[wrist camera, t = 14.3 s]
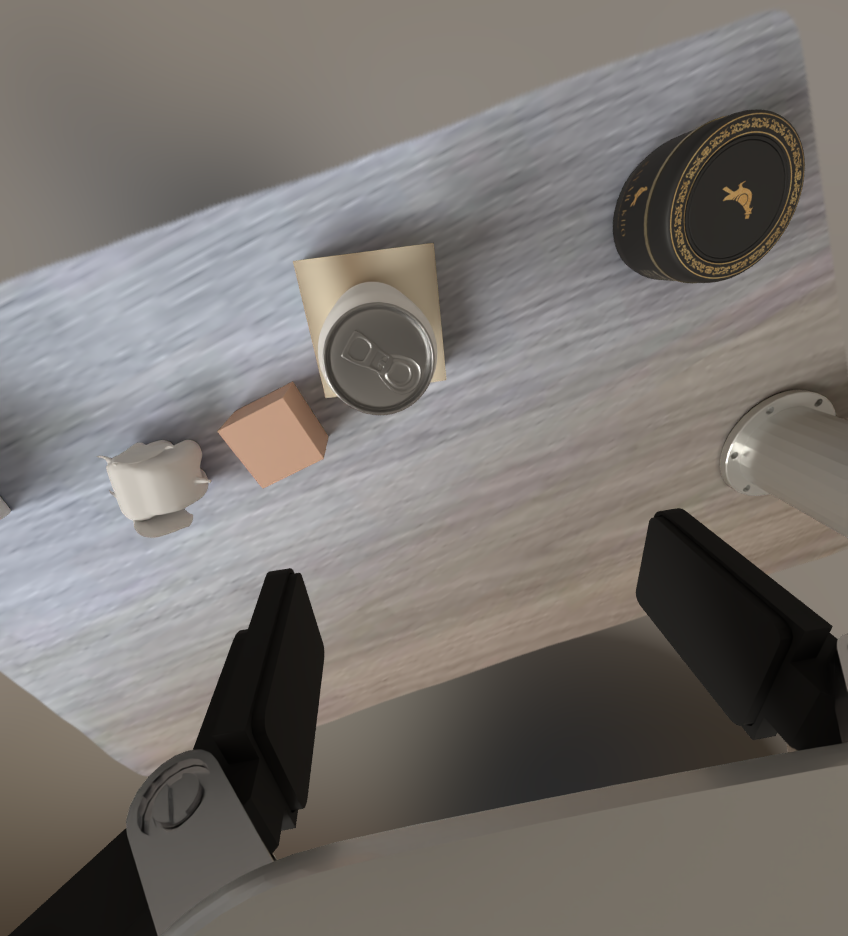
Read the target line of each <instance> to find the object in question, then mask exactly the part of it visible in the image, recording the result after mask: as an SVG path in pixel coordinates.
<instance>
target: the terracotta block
mask: <svg viewBox="0 0 848 936" xmlns="http://www.w3.org/2000/svg"><path fill="white" fill-rule="evenodd" d="M217 432H218V433H219V434H220V435H221V437H222V438H223V439H224V440H225V442H226V443H227V444H228V446H229V447H230V448H231V449H232V451H233V452H234V453H235V454H236V456H237V457H238V458H239V459H240V461H241V462H242V463H243V464H244V466H245V467H246V468H247V469H248V471H249V472H250V473H251V474H252V476H253V477H254V478H255V479H256V481H257V482H258V483H259V484H260V486H261V487H262V488H265V487H267V486H269V485H271V484H273V483H275V482H277V481H279V480H281V479H283V478H285V477H287V476H290V475H292V474H294V473H296V472H298V471H300V470H302V469H304V468H306V467H308V466H310V465H312V464H314V463H316V462H318V461H320V460H322V459H324V455H325V450H326V446H327V441H328V435H327V434H326V432H325V431H324V429H323V427H322V426H321V424H320V423H319V421H318V420H317V418H316V417H315V415H314V414H313V412H312V410H311V409H310V407H309V406H308V404H307V403H306V401H305V400H304V398H303V397H302V395H301V393H300V392H299V390H298V389H297V387H296V386H295V384H294V383H293V382H291V383H289V384H287V385H285V386H283V387H281V388H279V389H277V390H275V391H273V392H271V393H270V394H268V395H266V396H264V397H262V398H260V399H258V400H256V401H254V402H252V403H250V404H248V405H246V406H244V407H242V408H241V409H239V410H237V411H235V412H234V413H233V414H232V415H231V416H230V418H229V419H228V420H227V421H226V422H225V423H224V424H223V425H222V427H221V428H220V429H219V430H218V431H217Z"/></svg>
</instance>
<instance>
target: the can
mask: <svg viewBox="0 0 848 936" xmlns="http://www.w3.org/2000/svg"><path fill="white" fill-rule="evenodd" d="M318 359H319V364H320V368H321V371H322V374H323V376H324V378H325V380H326V382H327V384H328V385H329V387H330V388H331V389H332V391H333V392H334V393H335V394H336V395H337V396H338V397H339V398H340V399H341V400H342V401H343V402H344V403H346V404H347V405H348V406H350V407H352V408H354V409H355V410H358V411H360V412H363V413H367V414H372V415H388V414H393V413H397V412H400V411H402V410H404V409H406V408H408V407H410V406H411V405H412V404H414V403H415V402H416V401H417V400H418V399H419V398H420V397H421V396H422V395H423V394H424V392H425V391H426V389H427V388H428V386H429V384H430V382H431V380H432V378H433V375H434V372H435V369H436V364H437V343H436V338H435V335H434V332H433V329H432V327H431V325H430V323H429V321H428V319H427V318H426V316H425V315H424V314H423V312H422V311H421V310H420V309H419V308H418V307H417V306H416V305H415V304H414V303H413V302H412V301H411V300H410V299H408V298H407V297H406V296H405V295H404V294H402V293H401V292H400V291H399V290H397V289H396V288H394V287H392V286H390V285H387V284H385V283H380V282H364V283H360V284H358V285H355V286H353V287H352V288H350V289H348V290H347V291H346V292H345V293H344V294H343V295H342V296H341V297H340V298H339V300H338V301H337V302H336V304H335V305H334V307H333V308H332V310H331V311H330V313H329V314H328V316H327V318H326V320H325V322H324V324H323V326H322V329H321V332H320V335H319V341H318Z"/></svg>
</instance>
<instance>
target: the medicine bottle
mask: <svg viewBox="0 0 848 936" xmlns="http://www.w3.org/2000/svg"><path fill="white" fill-rule="evenodd" d="M10 512H11V510H10V508H9V507H8V506H7V504H6V503H5V502H4V501H3V499H2V498H1V497H0V520H1V519H3V518H4V517H6V516H7V515H8V514H10Z"/></svg>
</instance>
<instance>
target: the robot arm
mask: <svg viewBox="0 0 848 936" xmlns="http://www.w3.org/2000/svg"><path fill="white" fill-rule="evenodd" d="M720 471H721V475H722V477H723V480H724V481H725V482H726V483H727V485H728V486H730V487H731V488H733V489H734V490H736V491H737V492H739V493H741V494H744V495H749V496H762V495H768V494H771V495H773V496H775V497H777V498H778V499H780V500H782V501H784V502H785V503H787V504H789V505H791V506H792V507H794V508H796V509H798V510H799V511H801V512H803V513H804V514H806V515H808V516H810V517H811V518H813V519H815V520H817V521H818V522H820V523H822V524H824V525H825V526H827V527H829V528H831V529H832V530H834V531H836V532H838V533H839V534H841V535H843V536H845V537H846V538H848V420H846V419H843V418H840V417H837V416H836V413H835V409H834V407H833V405H832V403H831V402H830V401H829V400H828V399H827V398H826V397H825V396H823V395H820V394H818V393H815V392H811V391H807V390H791V391H785V392H782V393H779V394H776V395H774V396H772V397H770V398H768V399H766V400H764V401H762V402H761V403H760V404H758V405H757V406H755V407H754V408H752V409H751V410H750V411H749V412H748V413H747V414H746V415H744V416H743V417H742V419H741V420H740V421H739V422H738V423H737V424H736V425H735V427H734V428H733V430H732V431H731V433H730V434H729V436H728V438H727V440H726V442H725V444H724V446H723V450H722V453H721V458H720ZM636 597H637V600H638V602H639V604H640V606H641V607H642V608H643V610H644V611H645V612H646V613H647V615H648V616H649V617H650V618H651V620H652V621H653V622H654V624H655V625H656V626H657V627H658V629H659V630H660V631H661V632H662V634H663V635H664V636H665V638H666V639H667V640H668V641H669V642H670V644H671V645H672V646H673V648H674V649H675V650H676V651H677V653H678V654H679V655H680V657H681V658H682V659H683V660H684V662H685V663H686V664H687V665H688V667H689V668H690V669H691V670H692V672H693V673H694V674H695V676H696V677H697V678H698V679H699V680H700V682H701V683H702V684H703V686H704V687H705V688H706V689H707V691H708V692H709V693H710V695H711V696H712V697H713V698H714V699H715V701H716V702H717V703H718V705H719V706H720V707H721V708H722V710H723V711H724V712H725V714H726V715H727V716H728V717H729V718H730V720H731V721H732V722H734V723H735V724H736V725H739V726H742V727H743V729H744V730H745V731H746V732H747V734H748V735H749V736H750V737H751V739H752V740H756V739H761V738H767V737H772V736H776V734H777V732H778V734H780V736H781V737H782V738H783V739H784V740H785V742H786V743H787V752H788V753H782V754H777V755H771V756H766V757H761V758H756V759H750V760H745V761H740V762H734V763H730V764H724V765H719V766H714V767H708V768H703V769H697V770H692V771H687V772H681V773H676V774H671V775H666V776H660V777H656V778H650V779H645V780H640V781H635V782H629V783H624V784H620V785H614V786H609V787H604V788H599V789H594V790H589V791H583V792H578V793H573V794H568V795H563V796H558V797H552V798H547V799H542V800H538V801H532V802H528V803H522V804H517V805H512V806H507V807H502V808H497V809H492V810H487V811H482V812H477V813H472V814H467V815H463V816H457V817H453V818H447V819H442V820H437V821H432V822H427V823H422V824H417V825H413V826H408V827H403V828H399V829H394V830H390V831H386V832H381V833H376V834H372V835H367V836H363V837H358V838H354V839H349V840H345V841H340V842H336V843H332V844H328V845H325V846H321V847H317V848H314V849H310V850H307V851H303V852H300V853H296V854H292V855H290V856H287V857H285V858H282V859H279V860H277V859H276V858H275V856H274V854H273V852H274V851H275V849H276V848H277V847H278V845H279V840H280V834H281V831H282V830H288V829H293V828H296V821H297V813H298V809H303V808H305V806H306V803H307V797H308V789H309V780H310V772H311V764H312V755H313V747H314V739H315V731H316V722H317V714H318V706H319V697H320V689H321V681H322V672H323V664H324V645H323V641H322V638H321V635H320V632H319V629H318V626H317V622H316V619H315V616H314V613H313V610H312V606H311V603H310V600H309V597H308V594H307V590H306V587H305V584H304V581H303V578H302V575H301V573H295V574H294V571H293V570H292V569H291V568H289V569H283V570H276V571H270V572H268V573H267V575H266V577H265V580H264V583H263V586H262V589H261V592H260V595H259V598H258V601H257V604H256V607H255V610H254V613H253V616H252V619H251V622H250V625H249V627H248V629H246V630H240V631H239V632H238V633H237V634H236V635H235V637H234V640H233V642H232V645H231V648H230V650H229V653H228V656H227V658H226V661H225V664H224V667H223V669H222V672H221V675H220V677H219V680H218V683H217V686H216V688H215V691H214V694H213V697H212V699H211V702H210V705H209V707H208V710H207V713H206V716H205V718H204V721H203V724H202V726H201V729H200V732H199V735H198V737H197V740H196V743H195V745H194V748H193V750H188V751H186V752H183V753H181V754H178V755H175V756H174V757H172V758H171V759H169V760H168V761H166V762H165V763H163V764H161V765H160V766H159V767H158V768H157V769H156V770H155V771H154V772H153V773H152V774H151V775H150V776H149V777H148V778H147V779H146V781H145V782H144V783H143V785H142V786H141V787H140V788H139V790H138V791H137V793H136V795H135V797H134V799H133V801H132V803H131V805H130V808H129V812H128V816H127V819H126V829H125V830H124V831H122V832H121V833H120V834H119V835H118V836H117V837H116V838H115V839H114V840H113V841H111V842H110V843H109V844H108V845H107V846H106V847H105V848H104V849H103V850H102V851H100V852H99V853H98V854H97V855H96V856H95V857H94V858H93V859H92V860H91V861H90V862H89V863H87V864H86V865H85V866H84V867H83V868H82V869H81V870H80V871H79V872H77V873H76V874H75V875H74V876H73V877H72V878H71V879H70V880H69V881H68V882H67V883H65V884H64V885H63V886H62V887H61V888H60V889H59V890H58V891H57V892H56V893H55V894H53V895H52V896H51V897H50V898H49V899H48V900H47V901H46V902H45V903H44V904H42V905H41V906H40V907H39V908H38V909H37V910H36V911H35V912H34V913H33V914H32V915H30V917H28V918H27V919H26V920H25V921H24V922H23V923H22V924H21V925H20V926H18V927H17V928H16V929H15V930H14V931H13V932H12V933H11V934H10V935H8V936H848V634H845V635H842V636H841V637H840V638H839V639H837V638H835V637H834V636H833V635H832V634H831V633H830V631H831V629H832V625H830V624H829V623H828V622H826V621H825V620H824V619H823V618H821V617H820V616H819V615H818V614H816V613H815V612H814V611H813V610H811V609H810V608H809V607H807V606H806V605H805V604H804V603H802V602H801V601H800V600H798V599H797V598H796V597H795V596H793V595H792V594H791V593H789V592H788V591H787V590H786V589H784V588H783V587H782V586H781V585H779V584H778V583H777V582H776V581H774V580H773V579H772V578H770V577H769V576H768V575H767V574H765V573H764V572H763V571H761V570H760V569H759V568H758V567H756V566H755V565H754V564H753V563H751V562H750V561H749V560H747V559H746V558H745V557H744V556H742V555H741V554H740V553H739V552H737V551H736V550H735V549H733V548H732V547H731V546H730V545H728V544H727V543H726V542H725V541H723V540H722V539H721V538H719V537H718V536H717V535H716V534H714V533H713V532H712V531H710V530H709V529H708V528H707V527H705V526H704V525H703V524H702V523H700V522H699V521H698V520H696V519H695V518H694V517H693V516H691V515H690V514H689V513H688V512H686V511H685V510H683V509H680V508H677V509H671V510H664V511H659V512H657V513H656V514H655V515H654V518H651V519H650V521H649V525H648V530H647V536H646V541H645V546H644V551H643V556H642V562H641V567H640V572H639V577H638V583H637V588H636Z"/></svg>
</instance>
